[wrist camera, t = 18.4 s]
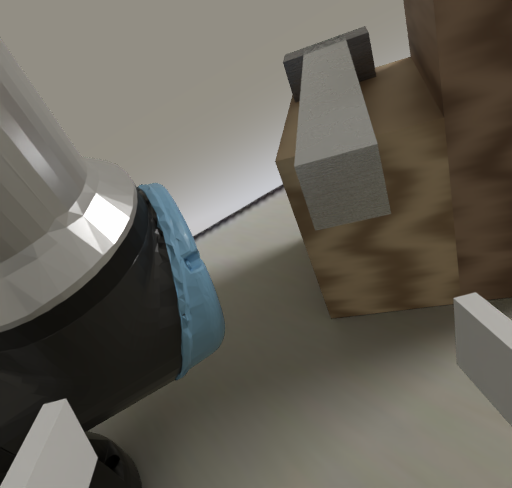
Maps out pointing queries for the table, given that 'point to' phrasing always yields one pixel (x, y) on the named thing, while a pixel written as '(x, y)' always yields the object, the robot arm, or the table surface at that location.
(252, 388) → the table surface
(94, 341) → the robot arm
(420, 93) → the walnut step stand
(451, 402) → the table surface
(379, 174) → the steel bar
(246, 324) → the table surface
